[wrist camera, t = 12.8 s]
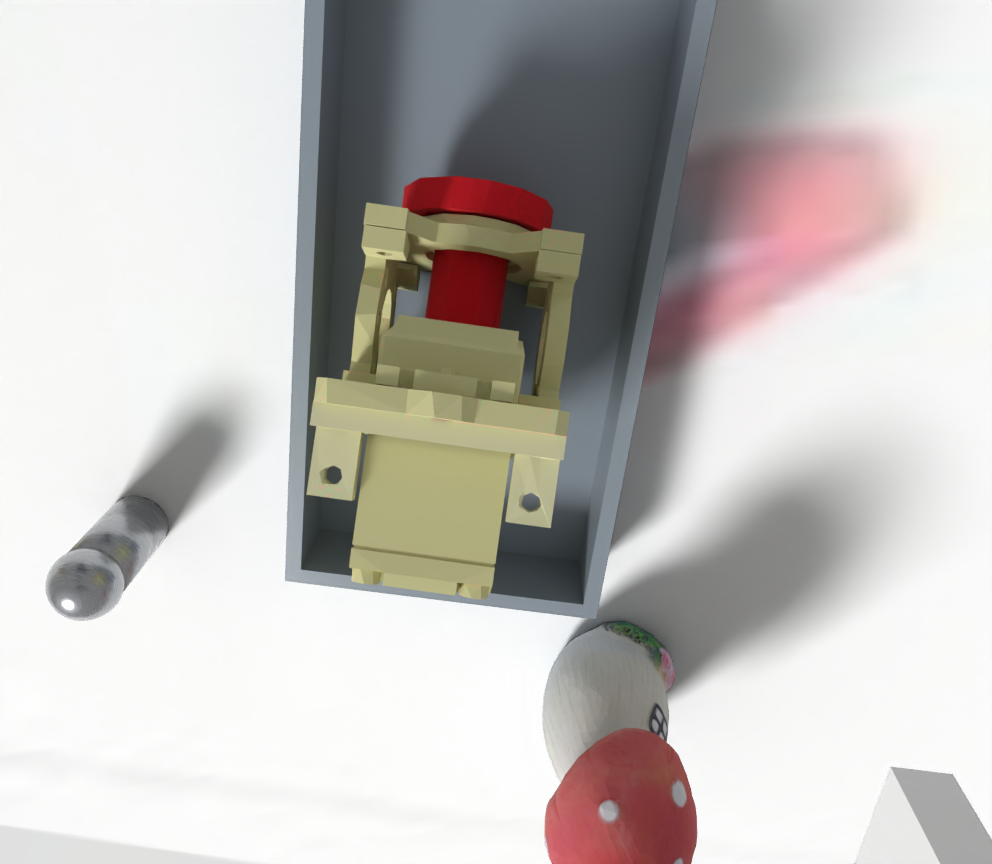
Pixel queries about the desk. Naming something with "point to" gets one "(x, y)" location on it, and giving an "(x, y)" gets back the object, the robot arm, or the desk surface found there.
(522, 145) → the parts bin
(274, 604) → the desk surface
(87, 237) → the desk surface
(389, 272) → the mechanical component
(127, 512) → the ball stud post
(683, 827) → the decorative ornament
